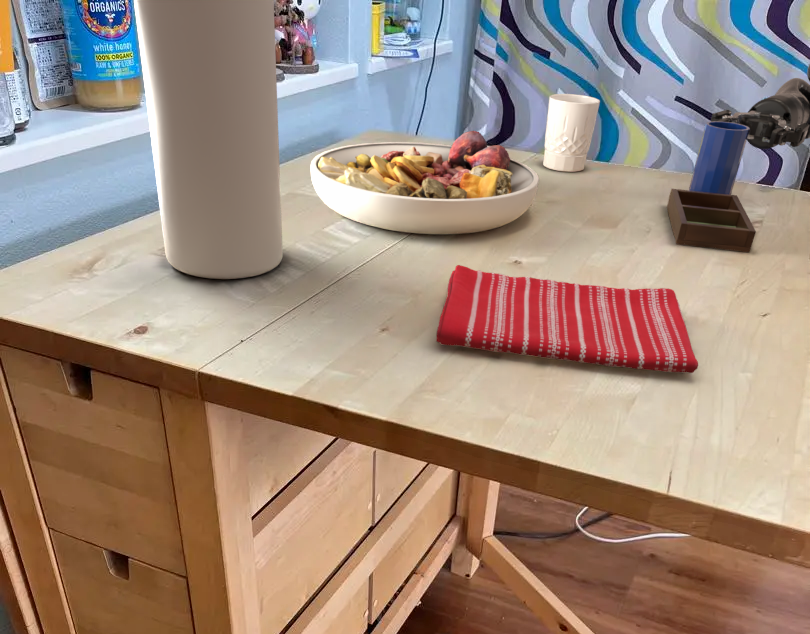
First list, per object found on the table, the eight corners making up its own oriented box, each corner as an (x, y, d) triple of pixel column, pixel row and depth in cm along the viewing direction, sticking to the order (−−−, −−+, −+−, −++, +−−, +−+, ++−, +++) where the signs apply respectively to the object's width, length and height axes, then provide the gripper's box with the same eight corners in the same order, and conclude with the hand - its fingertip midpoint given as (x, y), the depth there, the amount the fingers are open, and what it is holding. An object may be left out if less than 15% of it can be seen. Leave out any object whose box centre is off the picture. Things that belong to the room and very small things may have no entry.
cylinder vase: (158, 246, 91) (123, -23, 76) (267, 239, 95) (254, -18, 80) (177, 286, 82) (142, -11, 67) (296, 276, 86) (288, -6, 71)
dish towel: (451, 284, 86) (454, 260, 85) (675, 310, 84) (682, 285, 83) (429, 350, 73) (431, 322, 71) (694, 382, 71) (703, 354, 69)
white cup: (553, 158, 136) (563, 92, 130) (595, 167, 133) (608, 99, 127) (530, 166, 131) (540, 97, 125) (574, 175, 128) (586, 105, 122)
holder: (731, 214, 115) (737, 195, 113) (749, 252, 101) (756, 231, 100) (666, 207, 116) (671, 188, 114) (676, 244, 102) (681, 223, 101)
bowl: (467, 260, 93) (474, 188, 88) (264, 208, 105) (261, 142, 100) (567, 205, 114) (578, 145, 109) (389, 167, 125) (391, 111, 120)
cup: (725, 196, 123) (746, 123, 117) (730, 206, 118) (752, 131, 112) (685, 191, 124) (704, 119, 118) (689, 202, 119) (708, 127, 113)
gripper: (739, 88, 135) (706, 99, 124) (827, 102, 129) (800, 114, 118) (725, 137, 139) (693, 152, 129) (810, 153, 133) (783, 169, 123)
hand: (744, 134), depth 123 cm, fingers open, 8 cm apart
